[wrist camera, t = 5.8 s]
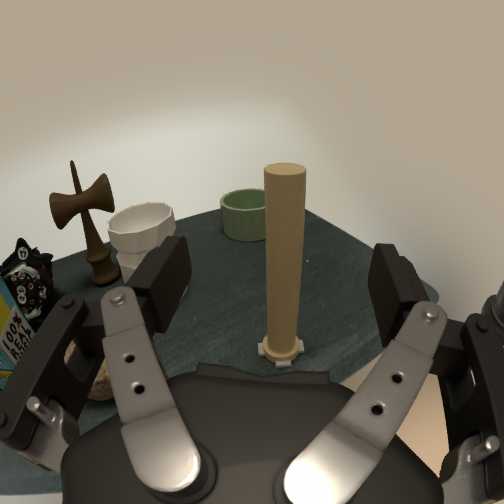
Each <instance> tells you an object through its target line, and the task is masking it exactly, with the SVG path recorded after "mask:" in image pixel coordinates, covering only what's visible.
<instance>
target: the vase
mask: <svg viewBox="0 0 504 504" xmlns="http://www.w3.org/2000/svg"><path fill="white" fill-rule="evenodd" d="M107 227H108V234H109V238H110V241H111V245H112V246H113V247H115V248H116V249H117V250H118V251H119V252H118V254H117V256H116V257H117V259H118V261H119V265H120V268H121V272H122V276H123V280H124V283H125V284H126V282H127V281H128V279H129V278H130V277H131V275H132V274H133V272H134V271H135V270H136V268H138V265H139V264H140V263H141V262H142V260H143V258H144V257H145V256H146V254H147V253H148V252H150V251H151V250H152V249H154V248H155V247H159V246H160V245H161V244H162V242H163V241H164V240H165V238H166V237H167V236H172V235H173V233H174V231H175V229H176V224H175V219H174V214H173V209H172V207H171V206H169V205H167V204H165V203H160V202H147V203H143V204H139V205H135V206H130V207H128V208H126V209H124V210H122V211H120V212H118V213H116V214H115V215H114V216H113V217H112V218H111V219H110V220H109V221H108V222H107ZM186 291H187V287H186V289H185V291H184V294H185V293H186ZM184 294H183V296H184ZM183 296H182V298H183ZM182 298H181V299H182ZM180 301H181V300H180Z"/></svg>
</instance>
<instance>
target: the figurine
mask: <svg viewBox="0 0 504 504" xmlns="http://www.w3.org/2000/svg"><path fill="white" fill-rule="evenodd" d="M52 258H53V255H52V254H49V253H42V254H40V252H39V251H38V250H37V247H36V248H34V249H31V248H30V247H29V245H28V244H27V242H26V241H25V240H24V239H23V238H19V239H18V240H17V244H16V249H15V251H14V252H13V253H12V254H11V255H10V256H9V257H8V258H7V259H6V260H5V261H4V262H3V263H2V266H1V265H0V276H3V277H4V279H5V281H6V283H7V285H8V287H9V289H10V290H11V292H12V294H13V296H14V298H15V299H16V301H17V303H18V305H19V306H20V308H21V310H22V311H23V313H24V315H25V316H26V318H27V319H28V321H29V320H33V319H35V318H36V317H38V316H39V315H41V314H44V313H47V312H50V311H51V310H52V309H53V307H54V305H53V292H54V289H53V285H54V284H53V280H52V277H53V274H52V262H51V259H52ZM44 320H45V319H44V318H39V319H37V320H35V321H34V322H30V324H31V326H32V327H33V329H34V330H35V332H36V329H37V327H38V325H39V324H41V323H43V322H44Z"/></svg>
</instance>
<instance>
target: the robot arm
mask: <svg viewBox="0 0 504 504" xmlns="http://www.w3.org/2000/svg"><path fill="white" fill-rule="evenodd" d="M191 272H192V268H191V262H190V256H189V251H188V246H187V241H186V238H185V237H184V236H167V237H166V238H165V240H164V241H163V242H162V244H161V245H160V246H159V247H155V248H154V249H152V250H151V251H150V252H148V253H147V254H146V256H145V257H144V258H143V260H142V262H141V263H140V264H139V265H138V268H136V270H135V271H134V272H133V274H132V275H131V277H130V278H129V279H128V281H127V282H126V284H125V285H124V286H122V287H116V288H114V289H111V290H110V291H108V292H107V293H106V294H105V295H104V296H103V297H102V299H101V301H96V302H88V303H86V301H85V299H84V297H83V296H82V295H81V294H80V293H70V294H67V295H65V296H63V297H62V298H61V299H60V300H59V301H58V302H57V303H56V304H55V306H54V307H53V309H52V310H51V311H50V313H49V314H48V316H47V317H46V319H45V320H44V322H43V323H42V325H41V326H40V328H39V329H38V331H37V332H36V334H35V335H34V337H33V338H32V340H31V341H30V343H29V345H28V346H27V348H26V349H25V351H24V353H23V354H22V356H21V358H20V359H19V361H18V363H17V364H16V366H15V368H14V370H13V371H12V373H11V375H10V377H9V379H8V380H7V382H6V384H5V386H4V388H3V390H2V392H1V394H0V441H1V442H2V443H4V444H5V445H7V446H8V447H9V448H10V449H11V450H12V451H14V452H15V453H17V454H18V455H20V456H21V457H23V458H25V459H26V460H28V461H30V462H31V463H34V464H36V465H38V466H40V467H41V468H43V469H45V470H47V471H55V472H57V473H59V474H60V475H61V482H62V491H63V502H62V504H493V503H495V502H498V501H500V500H503V499H504V347H503V344H502V342H501V339H500V337H499V335H498V333H497V330H496V328H495V326H494V324H493V323H492V321H491V320H490V319H489V318H487V317H486V316H484V315H482V314H478V313H475V314H471V315H469V317H468V318H467V320H466V322H465V323H463V322H459V321H455V320H451V319H448V318H447V315H446V313H445V311H444V310H443V309H442V308H441V307H440V306H439V305H437V304H436V303H433V302H430V300H429V298H428V296H427V293H426V291H425V289H424V287H423V285H422V283H421V281H420V280H419V277H418V274H417V273H416V270H415V268H414V267H413V265H412V263H411V262H410V261H408V260H407V259H406V258H405V257H404V256H399V254H398V252H397V250H396V248H395V246H394V244H382V243H377V244H376V245H375V247H374V251H373V256H372V261H371V265H370V270H369V274H368V288H369V292H370V296H371V300H372V303H373V307H374V311H375V316H376V320H377V324H378V328H379V333H380V337H381V342H382V346H383V347H387V348H386V350H385V351H384V353H383V354H382V356H381V357H380V359H379V360H378V362H377V363H376V364H375V366H374V367H373V369H372V370H371V372H370V373H369V374H368V376H367V377H366V379H365V380H364V381H363V383H362V384H361V385H360V387H359V388H358V389H357V391H356V392H354V391H352V390H350V389H349V388H347V387H345V386H343V385H341V384H338V383H335V382H331V381H329V372H314V371H294V372H288V373H282V374H275V375H268V376H259V375H255V374H252V373H249V372H246V371H243V370H240V369H237V368H234V367H231V366H224V365H216V364H208V363H200V362H199V363H198V366H197V370H196V371H193V372H187V373H183V374H179V375H177V376H174V377H172V378H170V379H169V377H168V375H167V372H166V370H165V368H164V365H163V363H162V360H161V358H160V355H159V353H158V350H157V348H156V345H155V343H154V340H153V338H152V337H153V335H154V333H155V332H157V333H164V334H165V333H166V331H167V328H168V326H169V324H170V322H171V320H172V317H173V315H174V313H175V311H176V309H177V306H178V304H179V302H180V300H181V298H182V296H183V294H184V291H185V289H186V287H187V285H188V283H189V281H190V278H191ZM491 314H492V316H493V318H494V320H495V322H496V323H497V324H498V326H499V327H500V328H501V329H502V330H504V281H503V283H502V286H501V287H500V289H499V291H498V293H497V295H496V297H495V298H494V300H493V302H492V304H491ZM72 340H73V342H74V343H75V345H76V346H75V348H74V350H73V352H72V354H71V355H70V357H69V359H68V361H67V363H66V364H65V361H64V355H65V352H66V350H67V348H68V346H69V345H70V343H71V341H72ZM104 359H106V364H107V369H108V373H109V378H110V382H111V386H112V390H113V394H114V398H115V401H116V405H117V409H118V413H117V414H115V415H113V416H112V417H110V418H109V419H107V420H106V421H104V422H102V423H101V424H99V425H98V426H96V427H94V428H93V429H91V430H90V431H88V432H86V433H85V434H83V435H81V436H80V435H79V425H78V422H77V421H78V419H79V416H80V414H81V411H82V409H83V407H84V404H85V402H86V399H87V397H88V395H89V392H90V390H91V388H92V385H93V383H94V381H95V379H96V376H97V374H98V372H99V370H100V368H101V365H102V363H103V361H104ZM471 370H472V372H473V375H474V379H475V386H474V382H473V378H472V375H471ZM428 373H431V374H435V375H437V376H438V380H439V386H440V391H441V396H442V401H443V407H444V413H445V419H446V427H447V434H448V443H449V453H448V454H447V455H446V456H445V458H444V459H443V462H442V466H441V470H440V473H439V475H440V477H439V478H438V477H437V476H436V474H435V473H434V472H433V471H432V470H431V469H430V468H429V467H428V466H427V465H426V464H425V463H424V462H423V461H422V460H421V459H420V458H419V457H418V456H417V455H416V454H415V453H414V452H413V451H412V450H411V449H410V448H409V447H408V446H407V445H406V444H405V443H404V442H403V441H402V440H401V439H400V438H399V437H398V436H397V434H396V432H397V430H398V429H399V427H400V425H401V424H402V422H403V420H404V419H405V417H406V415H407V413H408V412H409V410H410V408H411V406H412V404H413V403H414V401H415V399H416V397H417V395H418V393H419V391H420V389H421V387H422V385H423V383H424V381H425V379H426V377H427V375H428Z"/></svg>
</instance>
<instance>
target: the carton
mask: <svg viewBox="0 0 504 504" xmlns="http://www.w3.org/2000/svg"><path fill="white" fill-rule="evenodd" d="M35 334H36V332H35V330H34V329H33V327H32V326H31V324H30V322H29V321H28V319H27V318H26V316H25V315H24V313H23V311H22V310H21V308H20V306H19V305H18V303H17V301H16V299H15V298H14V296H13V294H12V292H11V290H10V289H9V287H8V285H7V283H6V281H5V279H4V277H3V276H0V390H1V391H2V390H3V388H4V386H5V384H6V382H7V380H8V379H9V377H10V375H11V373H12V371H13V370H14V368H15V366H16V364H17V363H18V361H19V359H20V358H21V356H22V354H23V353H24V351H25V349H26V348H27V346H28V345H29V343H30V341H31V340H32V338H33V337H34V335H35Z"/></svg>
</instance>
